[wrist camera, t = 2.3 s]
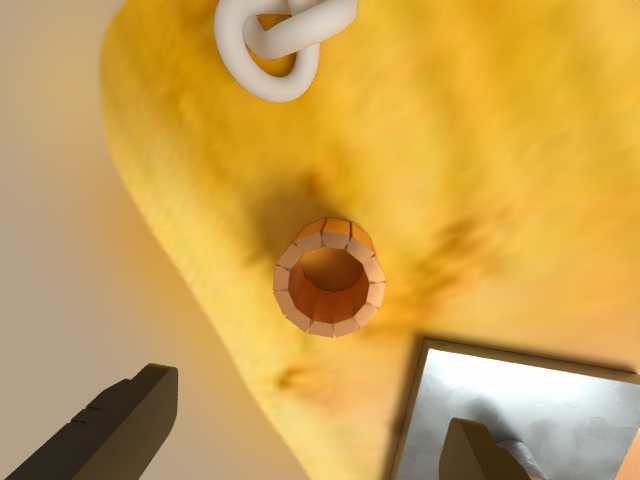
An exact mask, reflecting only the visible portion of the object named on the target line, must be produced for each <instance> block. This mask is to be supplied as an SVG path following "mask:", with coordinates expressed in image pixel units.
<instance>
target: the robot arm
mask: <svg viewBox="0 0 640 480" xmlns="http://www.w3.org/2000/svg"><path fill="white" fill-rule="evenodd" d="M177 398H178V370H177V368H175V367H170V366H165V365H159V364H153V363H150V364H148V365H146V366H145V367H144V368H143V369H142V370H141V371H140V372H139V373H138V374H137V375H136V376H135V377H134V378H133V379H132V380H129V379H124V380H122V381H120V382H118V383H116V384H114V385H113V386H111V387H109V388H107V389H105V390H104V391H103V392H101V393H100V394H99V395H98V396H97V397H96V398H95V399H94V400H92V402H90V403H89V404H88V405H87V407H86V408H85V409H82V411H80V412H79V413H78V414H77V415H76V416H75V417H74V418H72V419H71V422H70V423H67V424H66V425H65V426H63V428H61V429H60V430H59V431H58V432H57V433H56V434H55V435H53V436H52V437H51V438H50V439H49V440H48V441H47V442H46V443H45V444H43V445H42V446H41V447H40V448H39V449H38V450H37V451H36V452H35V453H33V454H32V455H31V456H30V457H29V458H28V459H27V460H26V461H24V462H23V463H22V464H21V465H20V466H19V467H18V468H17V469H16V470H15V471H13V472H12V473H11V474H10V475H9V476H8V477H7V478H6V479H4V480H139V478H140V476H141V475H142V474H143V472H144V470H145V469H146V468H147V466H148V465H149V463H150V462H151V460H152V459H153V457H154V456H155V454H156V453H157V451H158V450H159V448H160V447H161V445H162V444H163V442H164V441H165V440H166V438H167V437H168V435H169V433H170V432H171V430H172V427H173V425H174V422H175V419H176V415H177V401H178V399H177ZM439 480H531V478H530V477H529V475H528V474H527V472H526V470H525V469H524V467H523V466H522V465H521V464H520V463H519V462H518V461H517V460H516V459H515V458H514V457H513V456H512V455H511V454H510V453H509V452H508V451H507V450H506V449H505V448H503V447H497V445H496V443H495V441H494V440H493V438H492V436H491V434H490V432H489V431H488V429H487V427H486V426H485V424H484V423H482V422H479V421H473V420H467V419H461V418H456V417H453V418H452V419H451V421H450V423H449V427H448V430H447V434H446V438H445V441H444V445H443V448H442V452H441V456H440V459H439Z"/></svg>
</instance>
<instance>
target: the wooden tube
mask: <svg viewBox="0 0 640 480" xmlns="http://www.w3.org/2000/svg"><path fill="white" fill-rule="evenodd" d="M320 247H329V248H336V249H342V250H346V251H347V252H348V253H350V254H351V255H352V256H353V257H355V258H356V259H357V260H358V261H360V262H361V263H362V264H363V267H364V268H363V274H362V276H361V277H360V278H359V279H358V280H357V281H356V282H355V284H354V285H353V286H352V287H350V288H347V289H344V290H341V291H338V292H332V291H326V290H320V289H318V288H317V287H316V286H315V285H313V284H312V283H311V282H309V281H308V280H307V279H306V277H305V274H304V272H303V270H302V268H301V265H300V263H301V256H302V254H304V253H307V252H310V251H312V250H315V249H318V248H320ZM385 284H386V283H385V277H384V274H383V271H382V268H381V266H380V263H379V260H378V257H377V254H376V251H375V249H374V246H373V244H372V241H371V238H370V237H369V235H368V234H367V233H365V232H364V231H363V230H362V229H360V228H359V227H358V226H356V225H355V224H354V223H353V222H351V224H350V225H349V221H348V220H341V219H334V218H328V219H327V220H326V218H324V219H322V220H319V221H316V222H314V223H311V224H309V225H306V226H305V227H304V228H303V229H302V230H301V232H300V233H299V234H298V236H297V237H296V238H295V239H294V241H293V242H292V243H291V245H290V246H289V247H288V248H287V250H286V251H285V252H284V254H283V255H282V256H281V258H280V259H279V260H278V261H277V264H276V265H275V273H274V283H273V290H275V291H274V295H275V298H276V300H277V302H278V304H279V306H280V308H281V311H282V313H283V315H285V314H287V315H286V318H287V319H288V320H290V321H291V322H292V323H294V324H295V325H296V326H298V327H299V328H300V329H302V330H303V331H304V332H306V331H307V330H308V329H309V332H308V333H309V334H315V335H320V336H326V337H332V338H333V335H334V333H335V336H336V337H339V336H342V335H346V334H349V333H352V332H355V331H358V330H360V327H362V328H363V327H364V326H365V325H366V324H367V323H368V322H369V321H370V320H371V319H372V318H373V317H374V316H375V314H376V313H377V312H378V311H379V307H381V304H382V299H383V294H384V289H385Z"/></svg>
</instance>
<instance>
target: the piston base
mask: <svg viewBox="0 0 640 480" xmlns="http://www.w3.org/2000/svg"><path fill="white" fill-rule="evenodd" d="M453 417H456V418H461V419H467V420H473V421H479V422H482V423H484V424H485V426H486V427H487V429H488V431H489V432H490V434H491V436H492V438H493V440H494V441H495V443H496V445H497V447H503V448H505V449H506V450H507V451H508V452H509V453H510V454H511V455H512V456H513V457H514V458H515V459H516V460H517V461H518V462H519V463H520V464H521V465H522V466H523V467H524V469H525V470H526V472H527V474H528V475H529V477H530V478H531V480H614V479H615V477H616V475H617V473H618V471H619V469H620V467H621V464H622V462H623V460H624V458H625V456H626V454H627V452H628V450H629V448H630V446H631V443H632V441H633V439H634V437H635V435H636V433H637V431H638V429H639V427H640V375H639V374H636V373H630V372H624V371H618V370H612V369H606V368H600V367H594V366H588V365H582V364H577V363H571V362H565V361H559V360H553V359H547V358H541V357H535V356H529V355H523V354H517V353H511V352H505V351H499V350H494V349H488V348H482V347H476V346H470V345H464V344H458V343H452V342H446V341H440V340H434V339H428V338H424V340H423V344H422V348H421V353H420V357H419V361H418V365H417V369H416V373H415V377H414V381H413V385H412V389H411V393H410V398H409V402H408V406H407V410H406V414H405V418H404V422H403V426H402V430H401V434H400V438H399V442H398V447H397V451H396V455H395V459H394V463H393V467H392V471H391V475H390V479H389V480H439V459H440V456H441V452H442V448H443V445H444V441H445V438H446V434H447V430H448V427H449V423H450V421H451V419H452V418H453Z"/></svg>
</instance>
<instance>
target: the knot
mask: <svg viewBox="0 0 640 480" xmlns="http://www.w3.org/2000/svg"><path fill="white" fill-rule="evenodd" d="M357 10H358V0H219V2H218V5H217V7H216V11H215V16H214V35H215V41H216V45H217V48H218V51H219V54H220V56H221V58H222V60H223V62H224V64H225V66H226V68H227V69H228V71H229V72H230V74H231V75H232V76H233V78H234V79H235V80H236V81H237V82H238V83H239V84H240V85H241V86H242V87H243V88H244V89H245V90H247V91H248V92H249V93H251V94H253V95H254V96H256V97H258V98H260V99H262V100H265V101H269V102H275V103H284V102H289V101H292V100H294V99H296V98H298V97H300V96H301V95H302V94H303V93H304V92H305V91H306V90H307V89H308V88H309V86H310V85H311V83H312V82H313V80H314V77H315V75H316V72H317V68H318V64H319V57H320V42H322V41H324V40H326V39H328V38H330V37H332V36H334V35H336V34H337V33H339V32H340V31H342V30H343V29H345V28H346V27H347V26H348V25H349V24H350V23H351V22H352V21H353V20H354V18H355V16H356V14H357ZM260 14H277V15H292V17H290V18H288V19H286V20H284V21H282V22H280V23H278V24H277V25H275V26H273V27H272V28H270V29H269V30H267V31H265V30H264V29H263V28H262V26H261V24H260V22H259V20H258V17H257V15H260ZM245 44H246V45H247V46H248V48H249V49H250V50H251V51H252V52H253V53H254V54H255V55H257V56H258V57H260V58H263V59H266V60H273V59H277V58H281V57H283V56H286V55H289V54H291V53H294V52H297V56H296V62H295V65H294V68H293V70H292V71H291V72H290V73H289V74H288V75H287V76H284V77H275V76H271V75H269V74H267V73H266V72H264V71H263V70H262V69H261V68H260V67H259V66H258V65H257V64H256V63H255V62H254V61H253V59H252V58H251V56H250V54H249V52H248V50H247V48H246V45H245Z"/></svg>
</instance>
